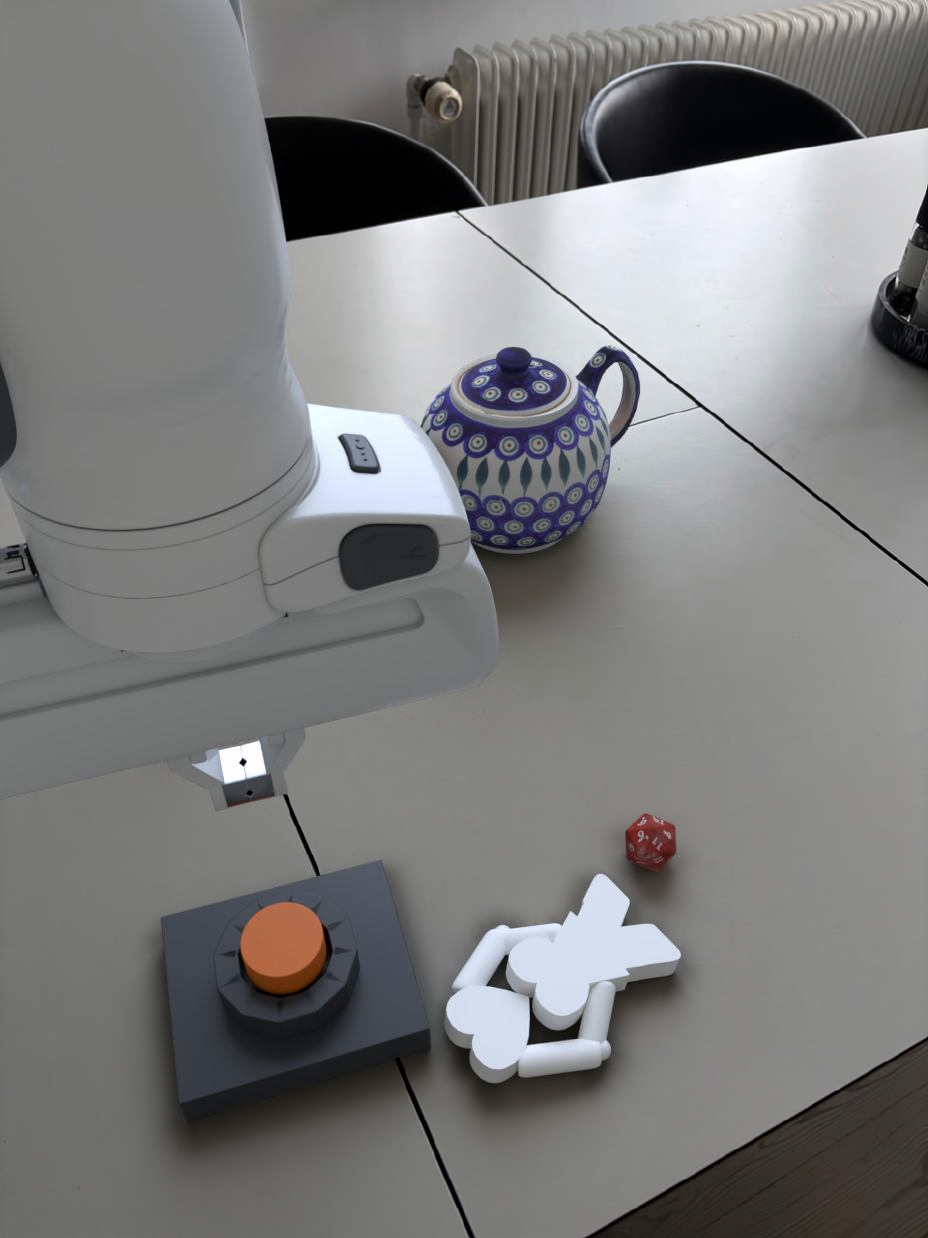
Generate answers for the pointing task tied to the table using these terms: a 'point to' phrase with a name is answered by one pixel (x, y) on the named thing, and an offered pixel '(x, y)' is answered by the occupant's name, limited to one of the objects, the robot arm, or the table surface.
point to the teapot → (529, 444)
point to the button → (283, 948)
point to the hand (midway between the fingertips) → (250, 790)
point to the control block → (289, 995)
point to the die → (650, 842)
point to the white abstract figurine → (553, 987)
